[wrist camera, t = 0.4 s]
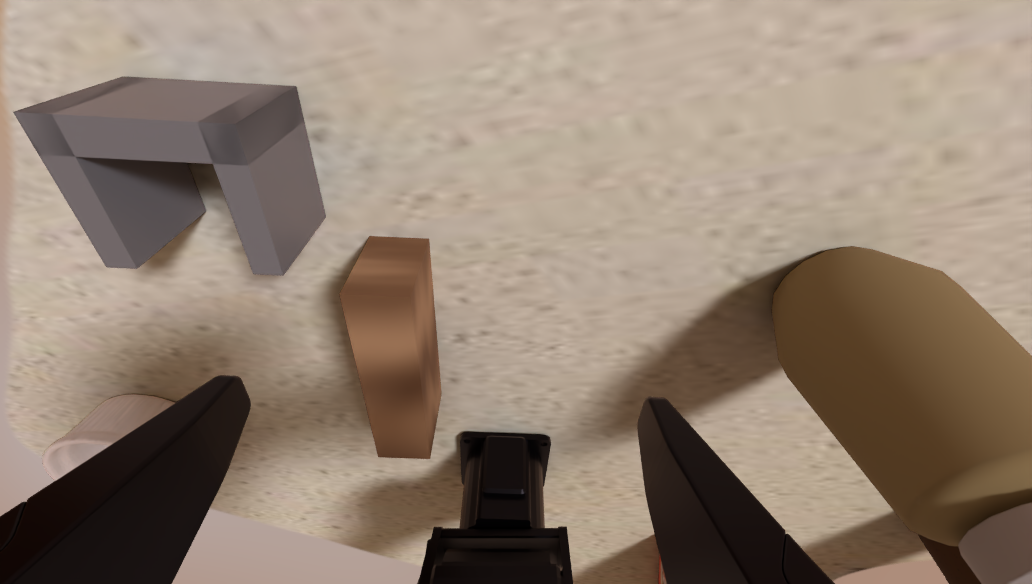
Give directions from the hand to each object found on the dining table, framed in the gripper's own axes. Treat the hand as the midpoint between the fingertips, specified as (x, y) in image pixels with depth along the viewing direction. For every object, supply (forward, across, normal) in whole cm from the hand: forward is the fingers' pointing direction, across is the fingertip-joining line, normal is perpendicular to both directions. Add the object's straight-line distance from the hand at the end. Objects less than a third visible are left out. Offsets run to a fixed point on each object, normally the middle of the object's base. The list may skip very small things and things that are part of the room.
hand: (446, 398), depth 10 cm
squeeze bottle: (+14, -19, +5) cm, 24 cm away
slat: (+14, +4, +10) cm, 17 cm away
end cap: (+13, +11, 0) cm, 17 cm away
